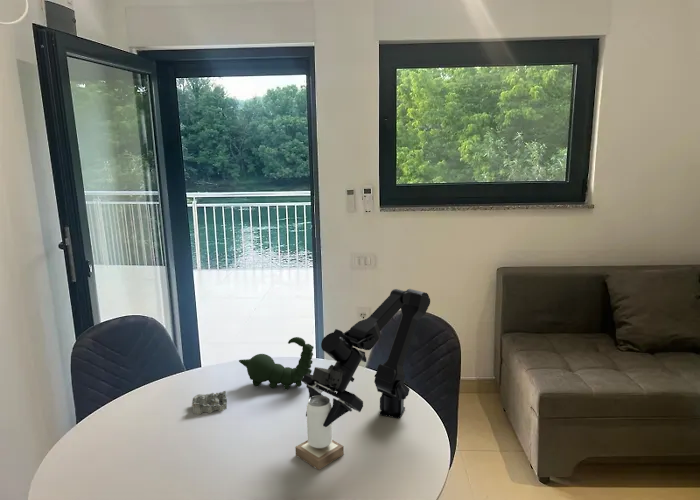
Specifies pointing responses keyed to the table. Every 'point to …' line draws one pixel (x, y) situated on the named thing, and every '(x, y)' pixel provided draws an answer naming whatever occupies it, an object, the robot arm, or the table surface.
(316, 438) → the can
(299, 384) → the toy figurine
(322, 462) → the block
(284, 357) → the table surface
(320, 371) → the robot arm
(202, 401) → the egg carton
